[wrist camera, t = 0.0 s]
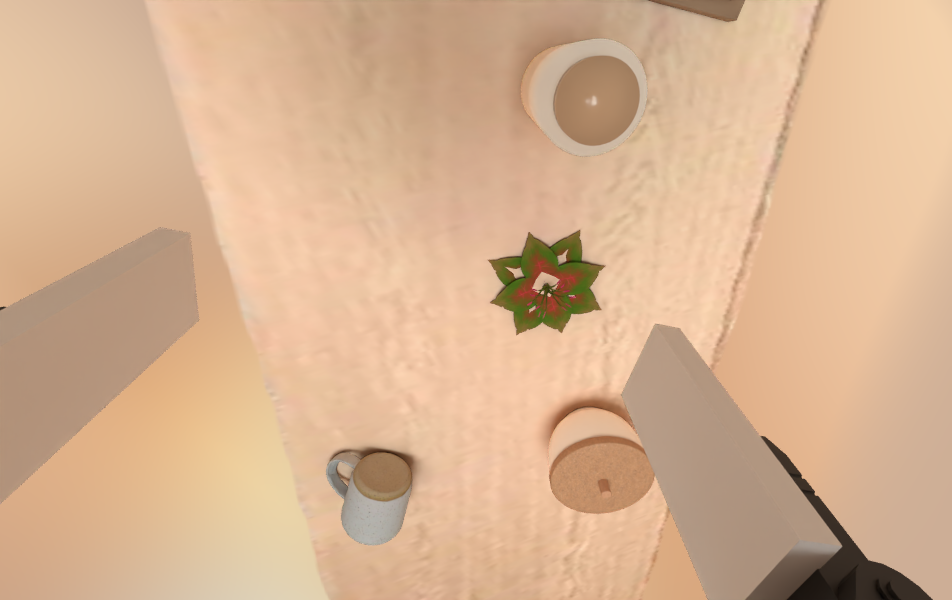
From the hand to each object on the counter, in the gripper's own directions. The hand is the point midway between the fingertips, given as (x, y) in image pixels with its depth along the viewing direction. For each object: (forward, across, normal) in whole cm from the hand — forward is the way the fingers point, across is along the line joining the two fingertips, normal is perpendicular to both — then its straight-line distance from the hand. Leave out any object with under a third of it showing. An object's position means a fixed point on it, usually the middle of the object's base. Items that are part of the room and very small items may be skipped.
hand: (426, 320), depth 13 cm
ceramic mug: (+28, -3, -41) cm, 50 cm away
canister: (+28, +7, +6) cm, 29 cm away
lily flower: (+29, +11, -11) cm, 32 cm away
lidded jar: (+28, +21, -28) cm, 45 cm away
